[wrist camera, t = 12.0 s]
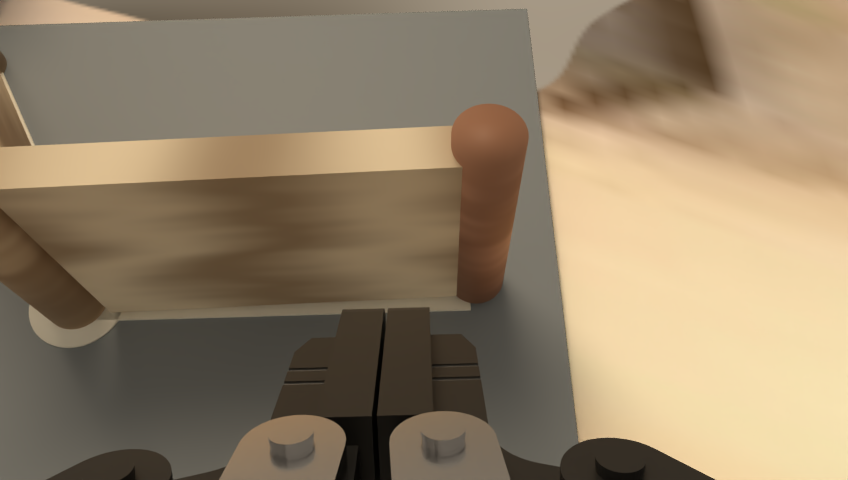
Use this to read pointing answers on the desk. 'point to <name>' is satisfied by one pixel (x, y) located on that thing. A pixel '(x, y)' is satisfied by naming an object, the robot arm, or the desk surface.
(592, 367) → the desk surface
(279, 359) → the board
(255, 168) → the fence swing section
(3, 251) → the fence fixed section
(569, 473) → the robot arm
